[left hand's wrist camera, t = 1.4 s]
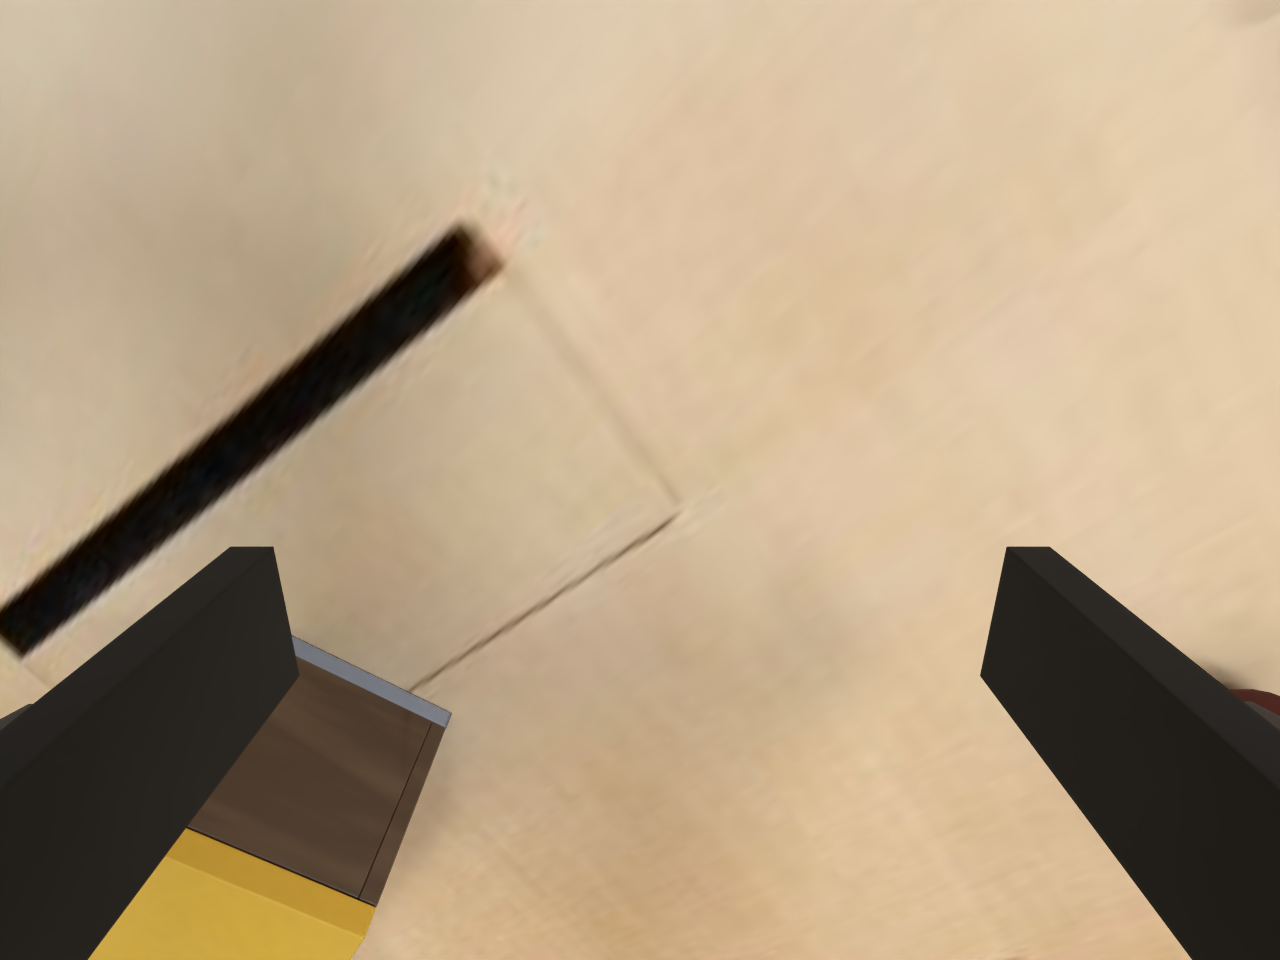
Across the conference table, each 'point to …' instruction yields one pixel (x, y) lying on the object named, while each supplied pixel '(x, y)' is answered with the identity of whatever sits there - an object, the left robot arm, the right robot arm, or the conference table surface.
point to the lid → (233, 911)
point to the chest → (329, 777)
